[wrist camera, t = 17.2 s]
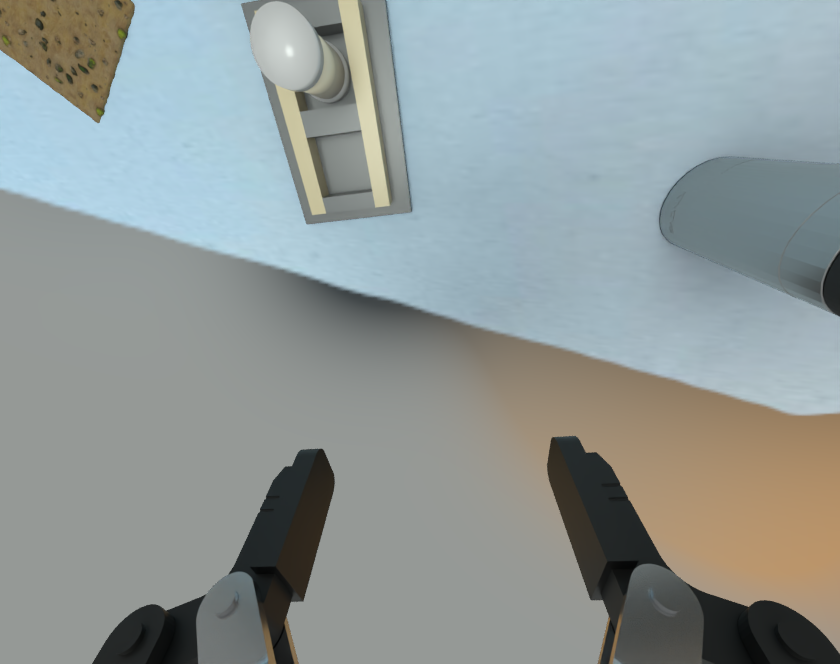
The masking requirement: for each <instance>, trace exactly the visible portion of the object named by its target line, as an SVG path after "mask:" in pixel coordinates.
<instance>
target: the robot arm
mask: <svg viewBox="0 0 840 664" xmlns="http://www.w3.org/2000/svg"><path fill="white" fill-rule="evenodd" d="M660 227H661V230H662V233H663V235H664V236H665V238H666V239H667V240H668V241H669V242H671V243H672V244H674V245H676V246H679V247H681V248H683V249H686V250H688V251H690V252H692V253H695V254H697V255H699V256H701V257H703V258H706V259H708V260H710V261H713V262H715V263H717V264H720V265H722V266H724V267H726V268H729V269H731V270H733V271H736V272H738V273H740V274H743V275H745V276H747V277H750V278H752V279H754V280H756V281H759V282H761V283H763V284H766V285H768V286H770V287H773V288H775V289H777V290H779V291H782V292H784V293H786V294H789V295H791V296H793V297H796V298H798V299H801V300H803V301H805V302H808V303H810V304H812V305H814V306H817V307H819V308H821V309H824V310H826V311H828V312H831V313H833V314H835V315H838V316H840V164H835V163H818V162H802V161H785V160H769V159H756V158H739V157H722V158H716V159H713V160H710V161H707V162H705V163H703V164H701V165H699V166H697V167H696V168H694V169H693V170H691V171H690V172H688V173H687V174H686V175H685V176H684V177H683V178H682V179H681V180H680V181H678V183H677V184H676V185H675V186H674V188H673V189H672V190H671V191H670V193H669V195H668V196H667V198H666V200H665V202H664V205H663V207H662V210H661V216H660ZM547 470H548V476H549V481H550V484H551V487H552V490H553V493H554V496H555V499H556V502H557V504H558V507H559V510H560V513H561V516H562V519H563V522H564V525H565V528H566V530H567V533H568V536H569V539H570V542H571V544H572V548H573V550H574V553H575V556H576V559H577V562H578V565H579V568H580V571H581V574H582V576H583V579H584V582H585V585H586V588H587V591H588V593H589V596H590V599H591V600H603V601H604V604H605V607H606V609H607V612H608V614H609V618H608V622H607V626H606V630H605V634H604V638H603V643H602V647H601V652H600V655H599V660H598V664H840V654H839V653H838V651H837V650H836V648H835V647H834V646H833V645H832V643H831V642H830V641H829V640H828V638H827V637H826V636H825V635H824V634H823V633H822V632H821V631H820V630H819V629H818V628H817V627H816V626H815V625H814V624H812V623H811V622H810V621H809V620H807V619H806V618H805V617H803V616H802V615H800V614H799V613H797V612H796V611H794V610H792V609H790V608H789V607H786V606H784V605H782V604H779V603H776V602H773V601H766V600H764V601H757V602H755V603H753V604H752V605H751V606H749V607H747V606H744V605H741V604H738V603H735V602H732V601H729V600H726V599H723V598H720V597H717V596H714V595H710V594H707V593H705V592H702V591H700V590H698V589H696V588H694V587H692V586H690V585H689V584H687V583H686V582H684V581H683V580H682V579H681V578H679V577H678V576H677V575H676V574H675V573H674V572H673V571H672V570H671V569H670V568H669V567H668V566H667V565H666V563H665V562H664V561H663V559H662V558H661V556H660V555H659V553H658V551H657V549H656V547H655V546H654V544H653V542H652V540H651V538H650V537H649V535H648V533H647V531H646V529H645V527H644V526H643V524H642V522H641V520H640V518H639V516H638V515H637V513H636V511H635V509H634V507H633V506H632V504H631V502H630V501H629V500H628V497H627V495H626V493H625V491H624V489H623V487H622V486H620V482H619V480H618V478H617V477H616V475H615V473H614V471H613V469H612V467H611V466H610V465H609V464H608V463H607V462H606V461H605V460H604V459H603V458H602V457H601V456H600V455H598V454H597V453H596V452H594V453H586V452H585V450H584V448H583V446H582V445H581V443H580V440H579V439H578V438H577V437H576V436H568V437H567V436H566V437H553V438H552V439H551V444H550V450H549V457H548V463H547ZM334 482H335V481H334V473H333V471H332V469H331V466H330V464H329V461H328V459H327V457H326V455H325V452H324V450H323V449H307V450H300V451H299V452H298V454H297V456H296V458H295V461H294V463H293V465H292V466H290V467H289V466H288V467H285V468H284V469H283V470H282V471H281V472H280V473H279V475H278V476H277V477H276V478H275V479H274V480H273V482H272V485H271V487H270V489H269V491H268V493H267V495H266V499H265V500H264V502H263V504H262V507H261V508H260V513H258V515H257V517H256V519H255V522H254V524H253V526H252V528H251V530H250V532H249V535H248V537H247V539H246V541H245V544H244V545H243V548H242V550H241V552H240V554H239V556H238V558H237V561H236V563H235V565H234V567H233V568H232V570H231V571H230V573H229V574H228V575H227V576H225V577H223V578H222V579H221V580H219V581H218V582H217V583H216V584H215V585H214V586H213V587H212V588H211V589H210V590H209V592H208V593H207V594H206V595H204V596H202V597H200V598H197V599H195V600H192V601H190V602H187V603H185V604H182V605H180V606H177V607H175V608H172V609H170V610H167V611H166V610H164V609H163V608H162V607H160V606H158V605H153V604H151V605H146V606H144V607H141V608H139V609H138V610H136V611H134V612H133V613H131V614H130V615H129V616H128V617H126V618H125V619H124V620H123V621H122V622H121V623H120V624H119V625H118V626H117V627H116V628H115V629H114V631H113V632H112V633H111V634H110V636H109V637H108V639H107V640H106V642H105V643H104V645H103V647H102V648H101V650H100V652H99V653H98V655H97V657H96V658H95V660H94V662H93V663H92V664H299V663H298V659H297V655H296V651H295V647H294V643H293V639H292V635H291V631H290V628H289V624H288V620H287V617H286V616H287V613H288V609H289V606H290V603H291V602H295V601H296V602H298V601H303V600H304V597H305V593H306V589H307V586H308V582H309V578H310V575H311V571H312V567H313V564H314V561H315V557H316V553H317V550H318V546H319V542H320V539H321V535H322V531H323V528H324V524H325V521H326V517H327V513H328V510H329V506H330V502H331V499H332V495H333V491H334V484H335V483H334Z"/></svg>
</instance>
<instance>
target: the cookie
mask: <svg viewBox="0 0 840 664" xmlns="http://www.w3.org/2000/svg"><path fill="white" fill-rule="evenodd" d="M134 9H135V6H134V3H133V2H132V1H131V0H0V50H1V51H2V52H4V53H5V54H6V55H8V56H9V57H11V58H13V59H14V60H16V61H17V62H18V63H19V64H21V65H22V66H24V67H25V68H26V69H27V70H28V71H30V72H32V73H33V74H34V75H35V76H37V77H38V78H39V79H40V80H41V81H43V82H44V83H46V84H47V85H49V86H50V87H51V88H52V89H53V90H54V91H56V92H58V93H59V94H61V95H62V96H63V97H65V98H66V99H67V100H68V101H70V102H71V103H72V104H73V105H75V106H76V107H78V108H79V109H80V110H81V111H83V112H84V113H85V114H87V115H88V116H90V117H91V118H92V119H93V120H94V121H95V122H97V123H99V122H100V119H101V116H102V115H103V114H104V107H105V105H106V103H107V98H108V97H109V92H110V87H111V84H112V81H113V79H114V76H115V71H116V67H117V64H118V63H119V59H120V56H121V53H122V49H123V44H124V42H125V39H126V37H127V32H128V28H129V26H130V24H131V19H132V17H133V15H134Z"/></svg>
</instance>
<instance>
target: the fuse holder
mask: <svg viewBox="0 0 840 664" xmlns="http://www.w3.org/2000/svg"><path fill="white" fill-rule="evenodd" d="M273 1H279V2H284V3H287V4H289V5H291V6H292V7H294V8H295V9H296V10H298V11H299V12H300V13H301V14H302V15H303V16H304V17H305V18H306V19H307V20H308V21H309V22H310V23H311V24H312V26H313V27H314V28H315V30H316V32H317V34H318V35H319V36H320V37H321V38H323V39H324V40H325V41H328V42H330V43H331V44H333V45H334V46H335V47H336V48H337V49H338V50H339V51H340V52H341V53H342V54H343V56H344V57H345V59H346V60H347V63H348V65H349V68H350V73H351V83H350V88H349V91H348V93H347V95H346V96H345V97H344V98H343V99H342V100H341V101H339V102H337V103H325V102H322V101H320V100H317V99H315V98H314V97H313V96H311V95H310V94H308V93H305V92H294V91H291V90H288V89H285V88H282V87H280V86H277V85H276V84H274V83H273V82H271V81H270V80H269V79H268V78H267V77H266V76H265V75H264V74H263V72H262V71H261V73H262V76H263V79H264V83H265V86H266V90H267V93H268V96H269V100H270V103H271V106H272V110H273V113H274V116H275V120H276V123H277V126H278V130H279V133H280V137H281V140H282V143H283V147H284V150H285V153H286V157H287V160H288V163H289V167H290V170H291V174H292V177H293V180H294V184H295V187H296V190H297V194H298V197H299V200H300V204H301V207H302V210H303V214H304V217H305V221H306V224H314V223H323V222H331V221H340V220H348V219H357V218H365V217H374V216H382V215H391V214H399V213H408V212H411V211H412V209H411V201H410V193H409V185H408V177H407V169H406V161H405V153H404V145H403V137H402V129H401V121H400V112H399V104H398V96H397V88H396V80H395V72H394V64H393V56H392V48H391V40H390V32H389V24H388V16H387V8H386V0H258V1H253V2H247V3H242V4H241V6H242V9H243V12H244V16H245V19H246V22H247V26H248V29H249V32H250V29H251V24H252V20H253V18H254V15H255V14H256V12H257V11H258V10H259V8H260V7H262V6H263V5H264V4H266V3H269V2H273Z"/></svg>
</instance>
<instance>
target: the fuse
mask: <svg viewBox="0 0 840 664" xmlns="http://www.w3.org/2000/svg"><path fill="white" fill-rule="evenodd" d="M250 42H251V48H252V52H253V55H254V58H255V60H256V62H257V64H258V66H259V68H260V69H261V71H262V72H263V74H264V75H265V76H266V77H267V78H268V79H269V80H270V81H271V82H273V83H274V84H276V85H277V86H280V87H282V88H285V89H288V90H291V91H294V92H305V93H308V94H310V95H311V96H313V97H314V98H315V99H317V100H320V101H322V102H325V103H337V102H339V101H341V100H342V99H343V98H344V97H345V96H346V95H347V93H348V91H349V88H350V83H351V73H350V68H349V65H348V63H347V60H346V59H345V57H344V56H343V54H342V53H341V52H340V51H339V50H338V49H337V48H336V47H335V46H334V45H333V44H331V43H330V42H328V41H325V40H324V39H323V38H321V37H320V36H319V35H318V34H317V32H316V30H315V28H314V27H313V26H312V24H311V23H310V22H309V21H308V20H307V19H306V18H305V17H304V16H303V15H302V14H301V13H300V12H299V11H298V10H296V9H295V8H294V7H292V6H291V5H289V4H287V3H284V2H279V1H273V2H269V3H266V4H264V5H263V6H262V7H260V8H259V10H258V11H257V12H256V14H255V15H254V18H253V20H252V24H251V29H250Z"/></svg>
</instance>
